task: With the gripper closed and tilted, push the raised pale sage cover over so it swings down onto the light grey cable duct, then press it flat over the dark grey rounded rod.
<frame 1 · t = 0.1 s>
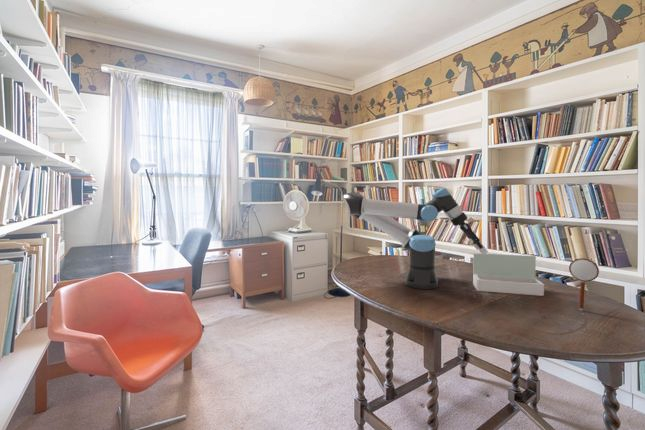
hand: (482, 251, 154), 15 cm above the table, tool tilted 35°, fingers open, 13 cm apart
cable duct: (506, 289, 142), on the table
magnifying glass: (581, 311, 117), on the table
dark grey rounded rod: (506, 285, 142), in the cable duct, point 1 cm above the table
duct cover: (503, 265, 147), point 10 cm above the table, hinge at 95.0°
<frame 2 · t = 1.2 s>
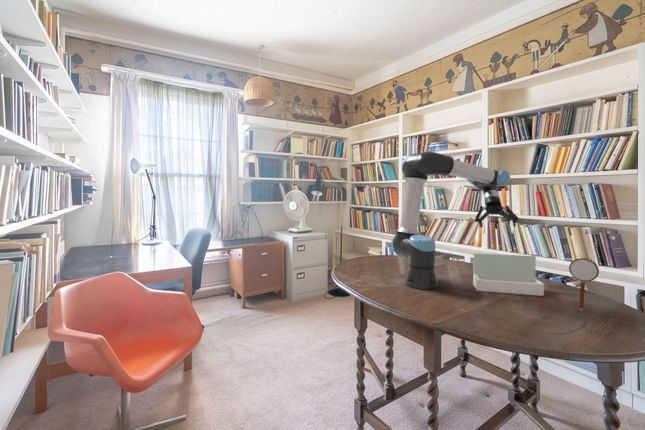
hand: (498, 231, 156), 24 cm above the table, tool tilted 45°, fingers open, 12 cm apart
nothing on the table moved.
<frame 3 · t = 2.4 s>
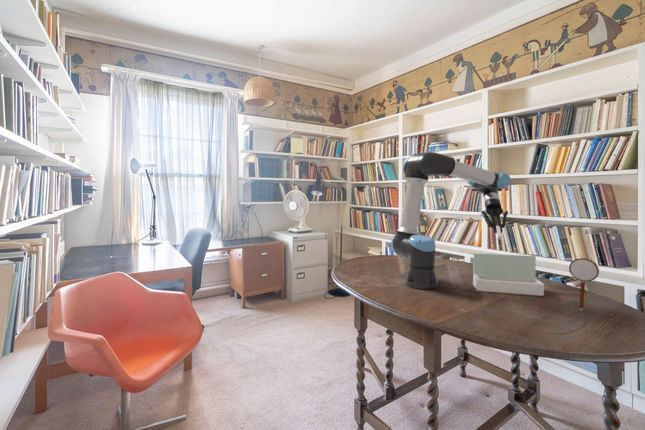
hand: (499, 237, 155), 22 cm above the table, tool tilted 45°, fingers closed
nothing on the table moved.
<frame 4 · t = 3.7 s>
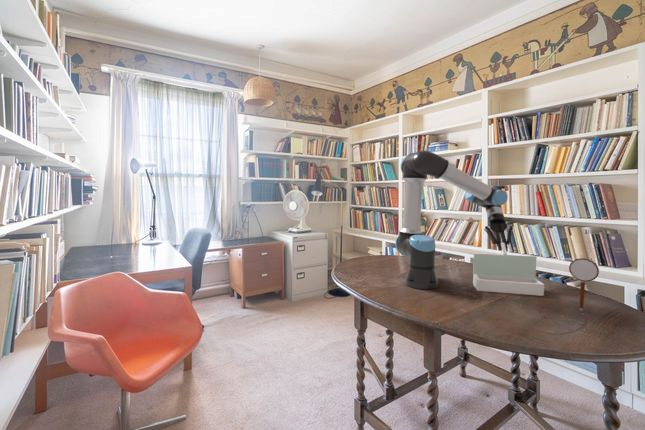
hand: (504, 255, 147), 15 cm above the table, tool tilted 45°, fingers closed
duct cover: (503, 265, 146), point 10 cm above the table, hinge at 88.6°, touching gripper
everything else where it was.
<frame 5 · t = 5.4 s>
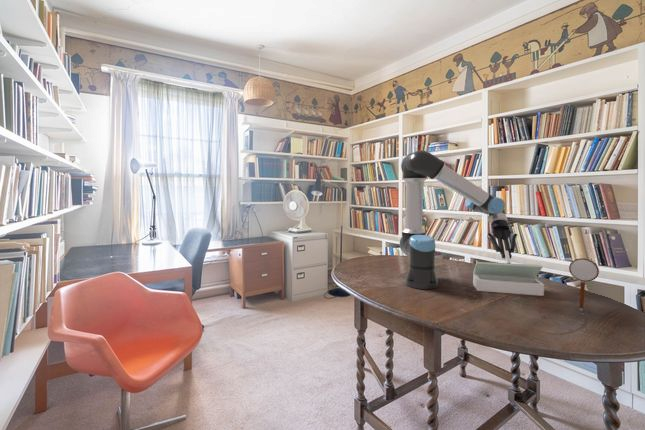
hand: (508, 264, 141), 12 cm above the table, tool tilted 45°, fingers closed
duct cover: (505, 269, 143), point 9 cm above the table, hinge at 43.1°, touching gripper
everything else where it was.
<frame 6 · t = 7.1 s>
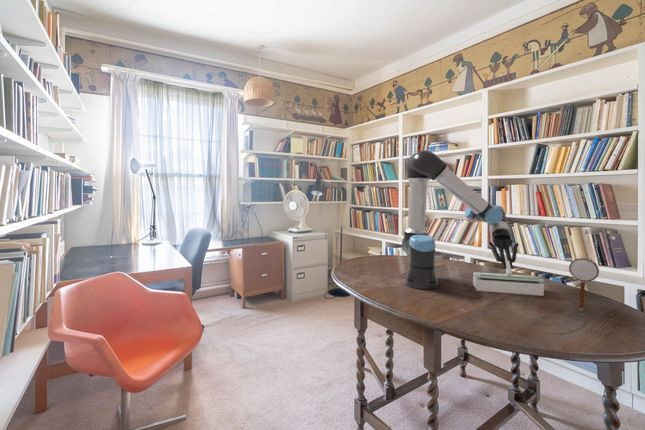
hand: (509, 274, 138), 8 cm above the table, tool tilted 45°, fingers closed
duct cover: (506, 276, 141), point 6 cm above the table, hinge at 6.0°, touching gripper
everything else where it was.
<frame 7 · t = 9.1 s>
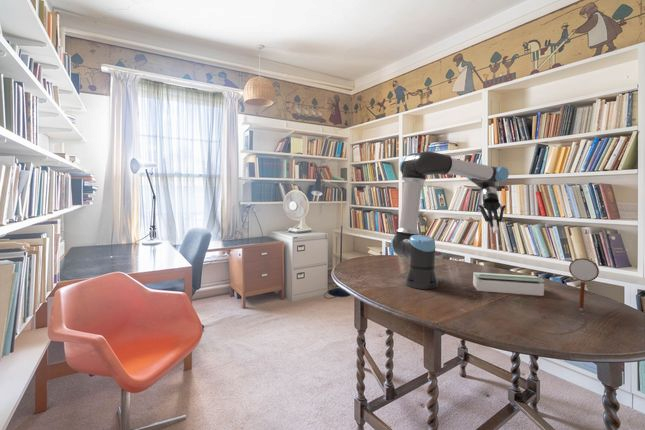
hand: (495, 231, 154), 25 cm above the table, tool tilted 45°, fingers closed
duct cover: (506, 276, 141), point 6 cm above the table, hinge at 5.9°
everything else where it was.
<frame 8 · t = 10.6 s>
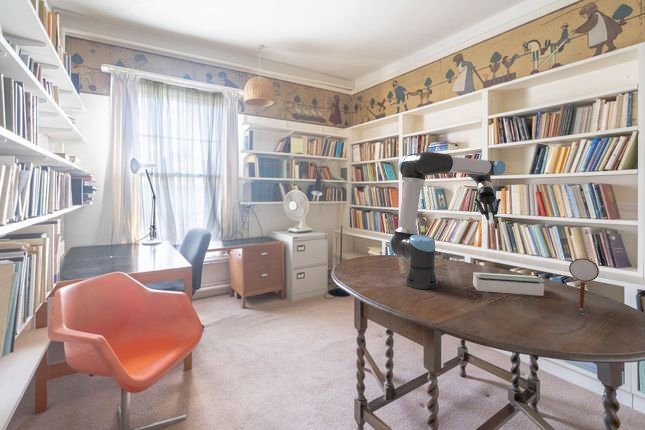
hand: (491, 224, 158), 28 cm above the table, tool tilted 45°, fingers closed
nothing on the table moved.
at the end: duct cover at +6° (first picture: +95°) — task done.
